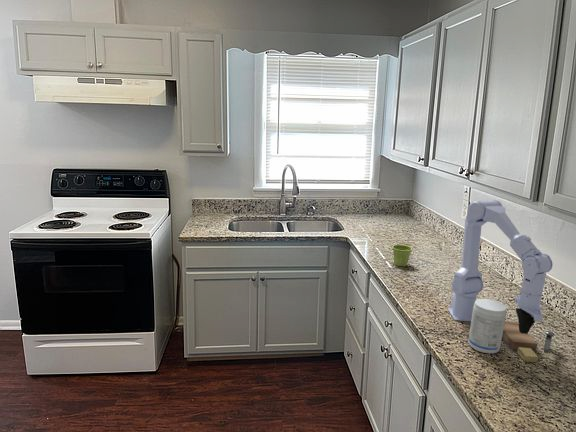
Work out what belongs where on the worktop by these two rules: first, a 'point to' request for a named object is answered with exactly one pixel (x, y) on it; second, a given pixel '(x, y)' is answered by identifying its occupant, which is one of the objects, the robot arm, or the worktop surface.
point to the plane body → (517, 337)
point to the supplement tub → (487, 325)
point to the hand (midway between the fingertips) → (523, 332)
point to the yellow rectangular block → (527, 354)
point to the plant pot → (401, 254)
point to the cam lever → (548, 341)
